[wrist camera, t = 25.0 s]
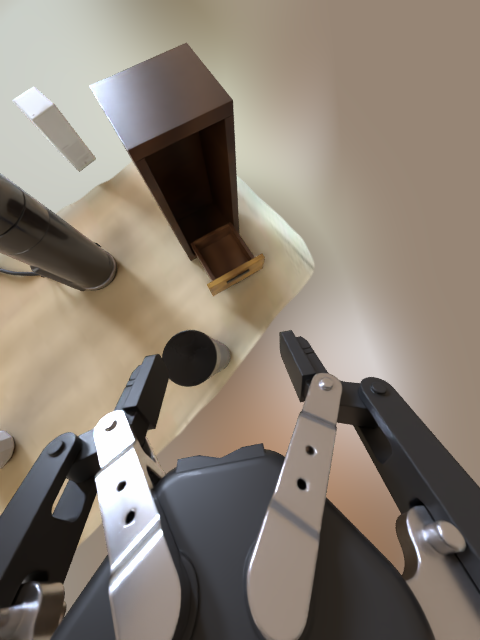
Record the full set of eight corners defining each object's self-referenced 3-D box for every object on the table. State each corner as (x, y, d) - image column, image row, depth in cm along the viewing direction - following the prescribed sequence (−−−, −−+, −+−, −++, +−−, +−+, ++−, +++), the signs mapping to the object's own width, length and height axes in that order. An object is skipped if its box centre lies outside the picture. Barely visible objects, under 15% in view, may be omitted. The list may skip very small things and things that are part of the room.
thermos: (209, 376, 36) (173, 396, 18) (197, 349, 37) (153, 344, 19) (235, 363, 36) (226, 371, 18) (223, 337, 37) (203, 321, 19)
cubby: (190, 261, 40) (127, 150, 19) (169, 224, 42) (88, 85, 21) (239, 234, 41) (233, 99, 20) (215, 199, 43) (186, 42, 21)
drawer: (214, 297, 37) (210, 290, 33) (189, 255, 39) (182, 243, 35) (263, 269, 38) (265, 258, 34) (236, 229, 40) (235, 214, 36)
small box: (97, 159, 46) (55, 104, 36) (79, 172, 46) (31, 119, 36) (79, 142, 48) (33, 84, 37) (62, 155, 47) (10, 99, 37)
